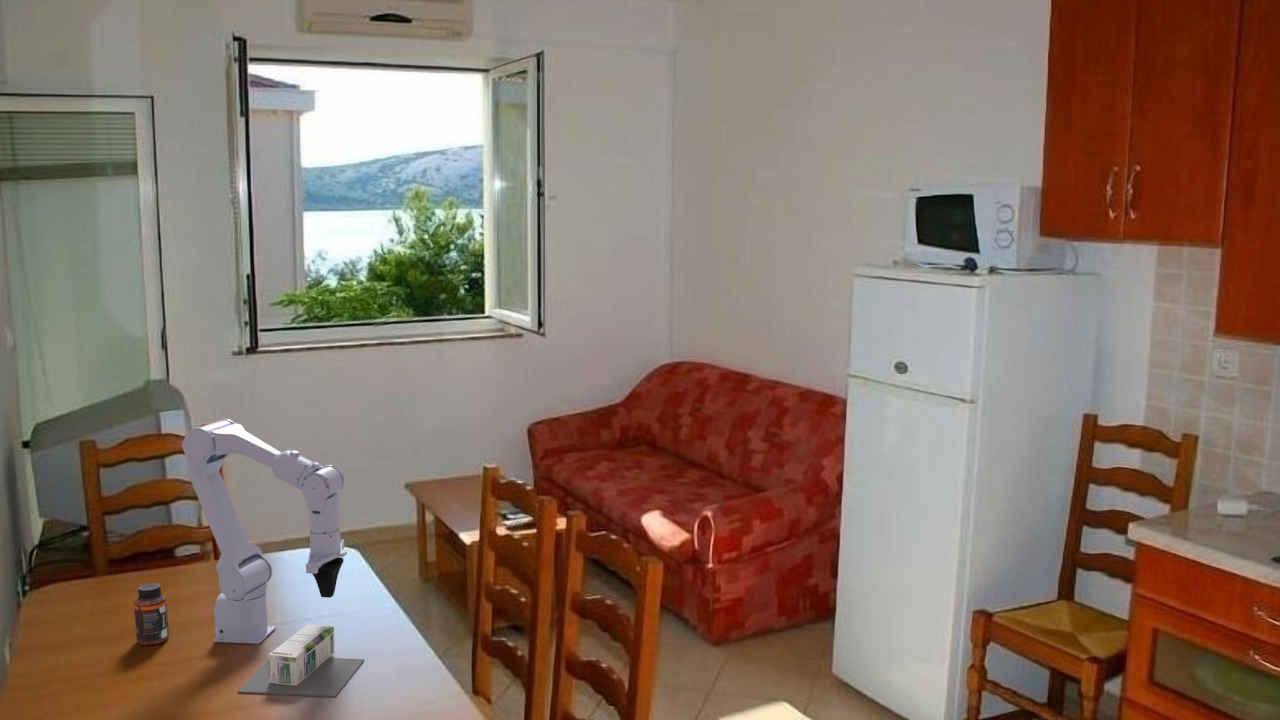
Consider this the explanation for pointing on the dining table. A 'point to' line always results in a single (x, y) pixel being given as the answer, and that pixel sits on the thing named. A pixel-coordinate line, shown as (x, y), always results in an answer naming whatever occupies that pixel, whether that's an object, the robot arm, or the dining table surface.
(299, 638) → the syrup box
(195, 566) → the dining table surface
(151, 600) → the supplement bottle
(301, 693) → the charcoal mat
